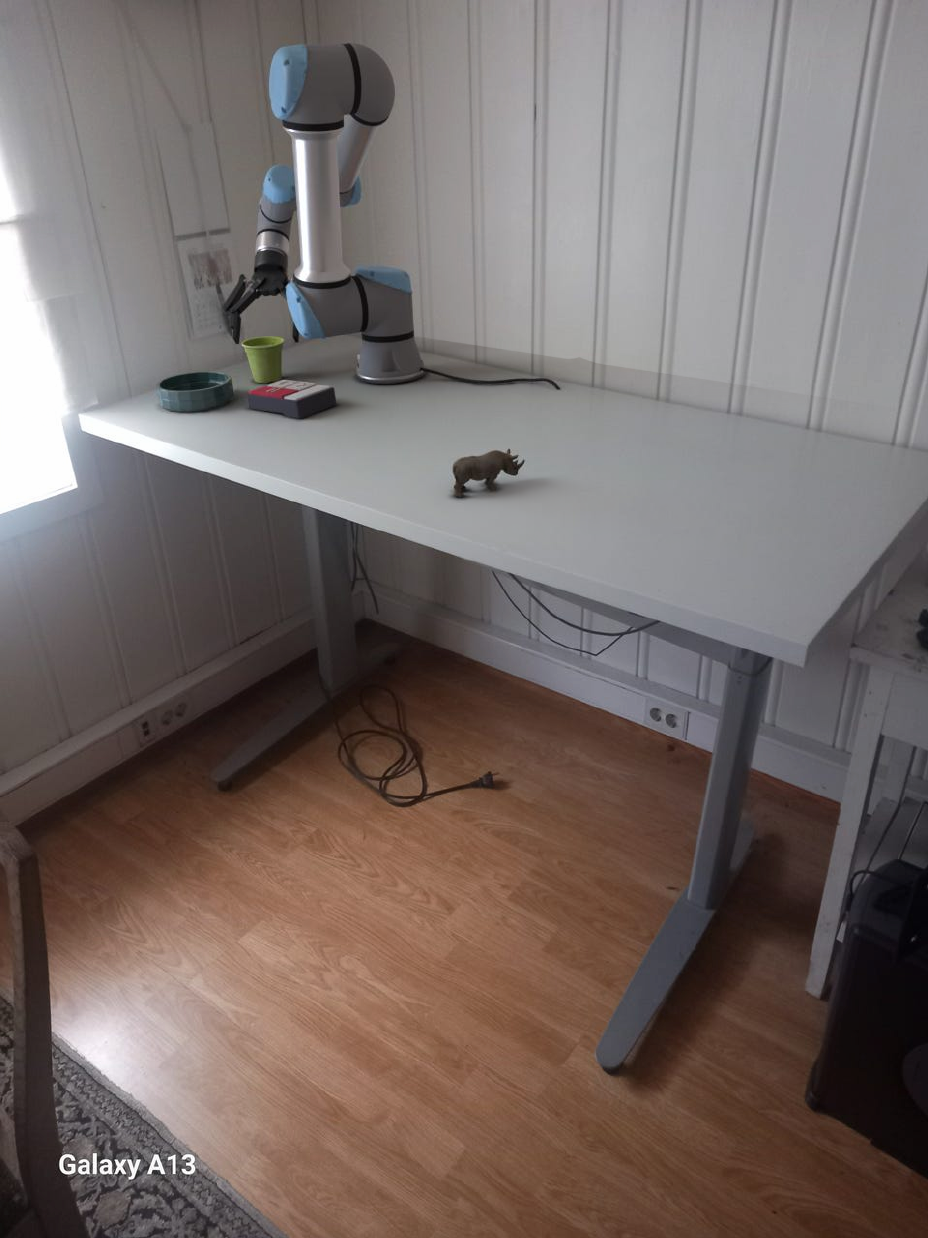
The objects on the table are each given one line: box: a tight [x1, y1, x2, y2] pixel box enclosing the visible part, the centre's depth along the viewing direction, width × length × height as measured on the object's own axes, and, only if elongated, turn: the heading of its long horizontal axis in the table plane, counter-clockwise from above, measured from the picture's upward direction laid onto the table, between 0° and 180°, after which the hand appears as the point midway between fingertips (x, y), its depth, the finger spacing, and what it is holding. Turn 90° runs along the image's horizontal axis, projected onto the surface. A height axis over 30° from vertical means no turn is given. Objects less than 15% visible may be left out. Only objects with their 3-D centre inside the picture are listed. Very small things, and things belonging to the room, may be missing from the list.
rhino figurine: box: [452, 448, 526, 498], centre depth 155 cm, size 4×14×6 cm, turn 119°
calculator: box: [246, 379, 337, 420], centre depth 198 cm, size 11×4×15 cm
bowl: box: [155, 370, 235, 413], centre depth 204 cm, size 15×15×4 cm
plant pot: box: [241, 335, 285, 384], centre depth 216 cm, size 9×9×9 cm
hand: (265, 340), depth 216 cm, fingers open, 13 cm apart
